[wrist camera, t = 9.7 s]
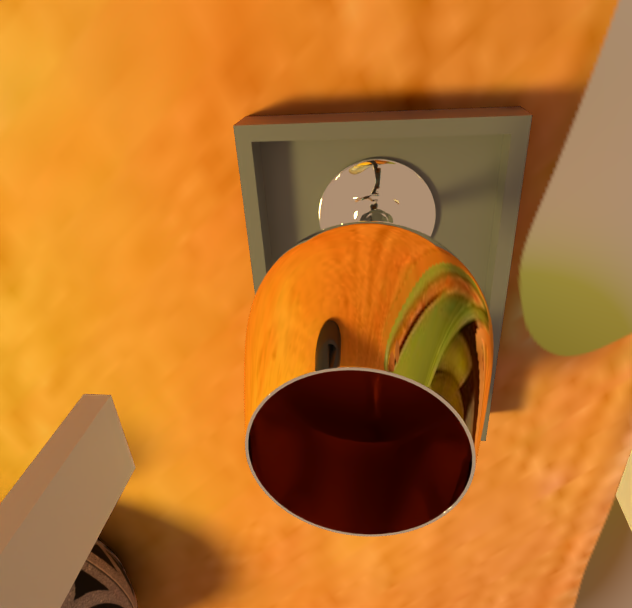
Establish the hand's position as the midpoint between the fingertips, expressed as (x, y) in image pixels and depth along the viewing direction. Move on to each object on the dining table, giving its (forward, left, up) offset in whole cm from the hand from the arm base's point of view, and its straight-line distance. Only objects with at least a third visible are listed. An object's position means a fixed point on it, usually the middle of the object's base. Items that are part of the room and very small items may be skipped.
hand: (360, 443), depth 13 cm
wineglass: (0, 0, -18) cm, 18 cm away
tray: (+5, 0, -18) cm, 19 cm away
